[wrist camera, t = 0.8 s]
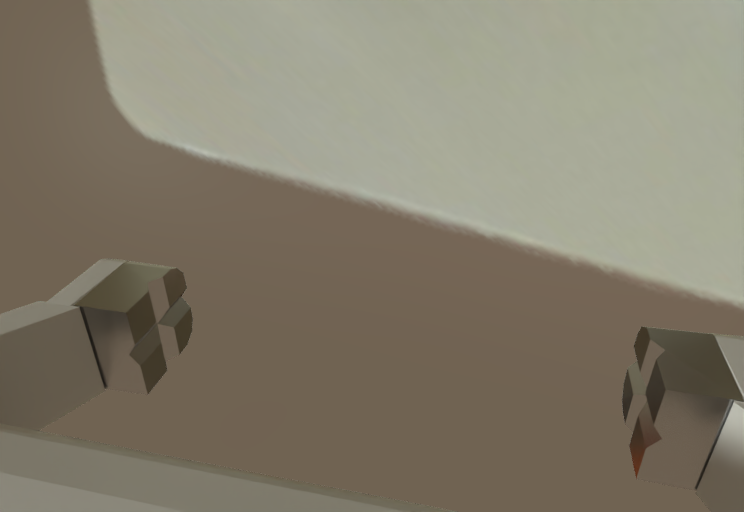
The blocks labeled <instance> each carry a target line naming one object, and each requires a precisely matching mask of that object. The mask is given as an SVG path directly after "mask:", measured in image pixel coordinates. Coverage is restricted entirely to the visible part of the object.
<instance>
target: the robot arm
mask: <svg viewBox="0 0 744 512" xmlns="http://www.w3.org/2000/svg"><path fill="white" fill-rule="evenodd" d="M186 289H187V286H186V282H185V278H184V274H183V272H181V271H180V270H179V269H178V268H174V267H167V266H160V265H154V264H147V263H140V262H133V261H131V262H129V261H126V260H118V259H100V260H99V261H98V262H97V263H95V264H94V265H93V266H91V267H90V268H89V269H88V270H86V271H85V272H84V273H83V274H82V275H80V276H79V277H78V278H76V279H75V280H74V281H73V282H71V283H70V284H69V285H68V286H66V287H65V288H64V289H62V290H61V291H60V292H59V293H57V294H56V295H55V296H54V297H52V298H51V299H50V300H49V301H47V302H42V301H38V302H35V303H33V304H29V305H26V306H23V307H20V308H17V309H14V310H12V311H8V312H6V313H2V314H0V512H457V511H451V510H446V509H441V508H436V507H431V506H426V505H421V504H416V503H410V502H405V501H400V500H395V499H390V498H384V497H380V496H374V495H369V494H364V493H359V492H354V491H349V490H343V489H338V488H333V487H327V486H322V485H317V484H312V483H306V482H302V481H296V480H291V479H286V478H281V477H276V476H270V475H265V474H260V473H255V472H249V471H244V470H239V469H234V468H229V467H223V466H218V465H213V464H208V463H203V462H197V461H192V460H187V459H182V458H177V457H171V456H165V455H161V454H155V453H151V452H146V451H140V450H135V449H129V448H125V447H120V446H114V445H109V444H104V443H99V442H93V441H88V440H83V439H78V438H73V437H68V436H63V435H57V434H52V433H47V432H42V431H39V430H41V429H43V428H44V427H46V426H47V425H49V424H51V423H53V422H54V421H56V420H58V419H59V418H61V417H63V416H64V415H66V414H68V413H69V412H71V411H73V410H75V409H76V408H78V407H79V406H81V405H82V404H85V403H86V402H88V401H90V400H91V399H93V398H94V397H96V396H98V395H100V394H101V393H103V392H104V391H105V389H110V390H118V391H124V392H131V393H138V394H145V395H148V394H149V393H150V391H151V390H152V389H153V387H154V386H155V385H156V384H157V383H158V381H159V380H160V379H161V378H162V376H163V375H164V374H165V373H166V371H167V366H166V361H168V360H170V359H172V358H174V357H176V356H178V355H180V354H181V352H182V351H183V349H184V348H185V347H186V346H187V344H188V341H189V338H190V335H191V332H192V322H193V318H192V312H191V307H190V306H189V305H188V304H187V303H186V301H185V300H184V299H183V298H182V295H183V293H184V292H185V290H186ZM634 349H635V354H636V357H637V362H635V363H634V364H633V365H631V366H630V367H628V369H627V373H626V377H625V381H624V387H623V396H622V404H623V405H622V406H623V416H624V421H625V425H626V426H627V427H628V428H629V429H630V430H631V431H633V434H632V438H631V442H630V444H629V447H630V452H631V456H632V461H633V466H634V471H635V476H636V479H639V480H644V481H649V482H654V483H659V484H664V485H669V486H674V487H679V488H684V489H689V490H695V491H696V495H697V496H698V497H699V498H700V499H701V500H702V502H703V503H704V504H705V505H706V506H707V507H708V509H709V510H710V511H711V512H744V336H734V335H723V334H713V333H709V334H707V333H698V332H688V331H679V330H670V329H661V328H652V327H641V329H640V331H639V332H638V334H637V337H636V341H635V344H634Z"/></svg>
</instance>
